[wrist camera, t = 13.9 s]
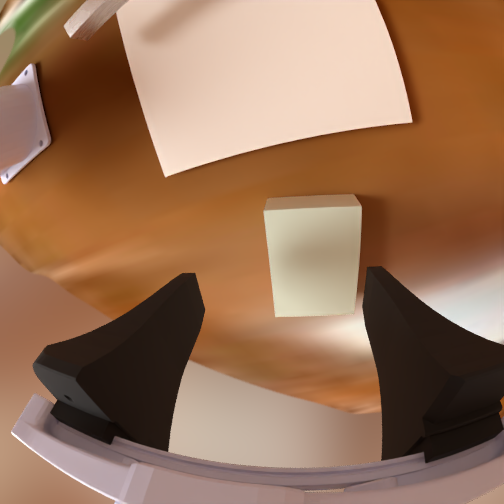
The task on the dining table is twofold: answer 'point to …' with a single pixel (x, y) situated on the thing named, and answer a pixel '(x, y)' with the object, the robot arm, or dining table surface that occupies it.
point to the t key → (91, 17)
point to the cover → (314, 253)
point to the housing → (258, 73)
